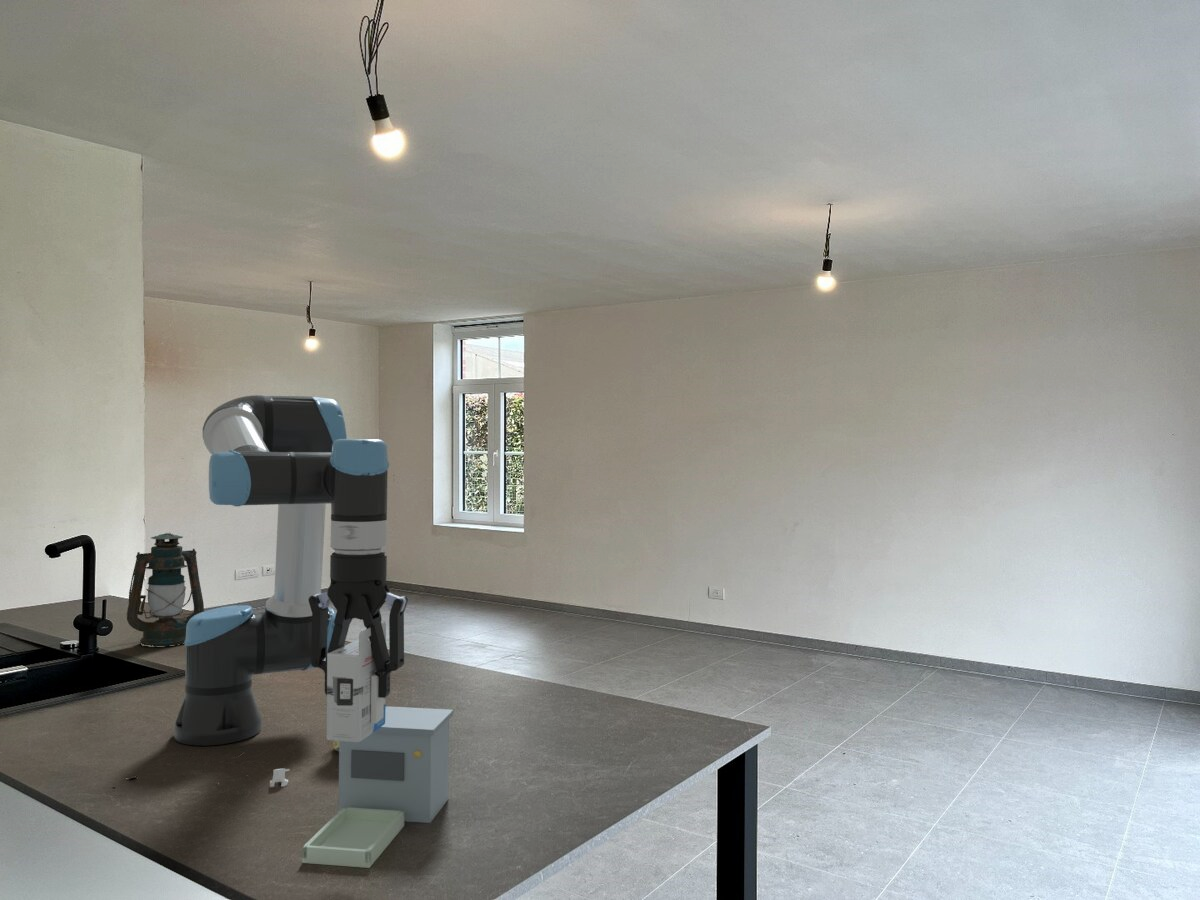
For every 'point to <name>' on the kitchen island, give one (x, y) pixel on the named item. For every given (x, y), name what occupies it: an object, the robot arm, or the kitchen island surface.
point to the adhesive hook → (279, 777)
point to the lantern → (164, 592)
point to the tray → (353, 837)
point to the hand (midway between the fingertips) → (357, 719)
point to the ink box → (351, 690)
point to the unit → (399, 765)
